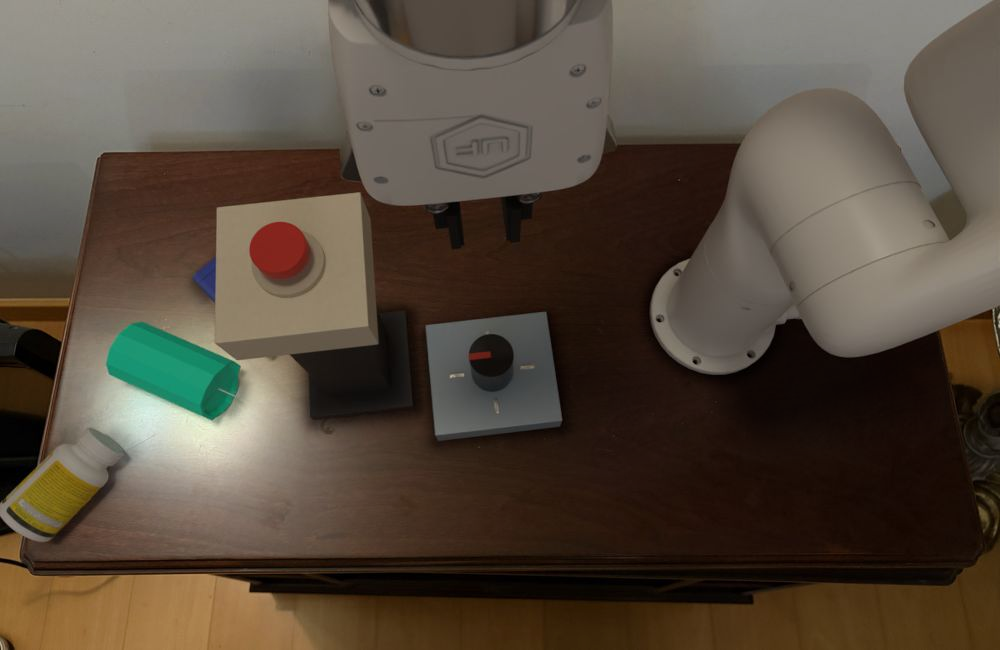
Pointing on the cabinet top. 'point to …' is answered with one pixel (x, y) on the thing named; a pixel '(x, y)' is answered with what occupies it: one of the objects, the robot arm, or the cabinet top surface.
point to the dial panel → (502, 411)
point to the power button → (279, 250)
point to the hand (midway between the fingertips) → (482, 220)
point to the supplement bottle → (60, 486)
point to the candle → (174, 369)
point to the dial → (491, 362)
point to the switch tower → (315, 306)
